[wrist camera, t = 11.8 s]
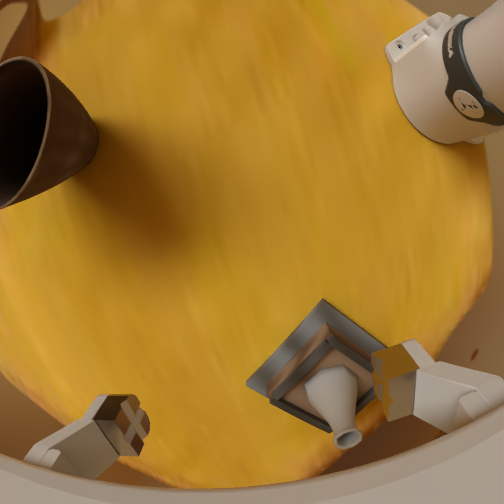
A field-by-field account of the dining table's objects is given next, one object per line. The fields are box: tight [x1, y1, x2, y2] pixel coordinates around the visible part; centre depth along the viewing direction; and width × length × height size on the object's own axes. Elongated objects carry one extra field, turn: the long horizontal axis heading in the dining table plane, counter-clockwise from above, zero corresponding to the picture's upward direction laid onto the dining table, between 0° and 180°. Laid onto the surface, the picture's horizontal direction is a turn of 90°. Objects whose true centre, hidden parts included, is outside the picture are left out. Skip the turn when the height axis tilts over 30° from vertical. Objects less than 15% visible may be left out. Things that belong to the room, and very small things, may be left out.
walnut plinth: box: [246, 298, 387, 433], centre depth 38 cm, size 16×16×5 cm
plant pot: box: [0, 56, 98, 209], centre depth 26 cm, size 15×15×16 cm
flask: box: [304, 365, 362, 450], centre depth 31 cm, size 7×7×10 cm
